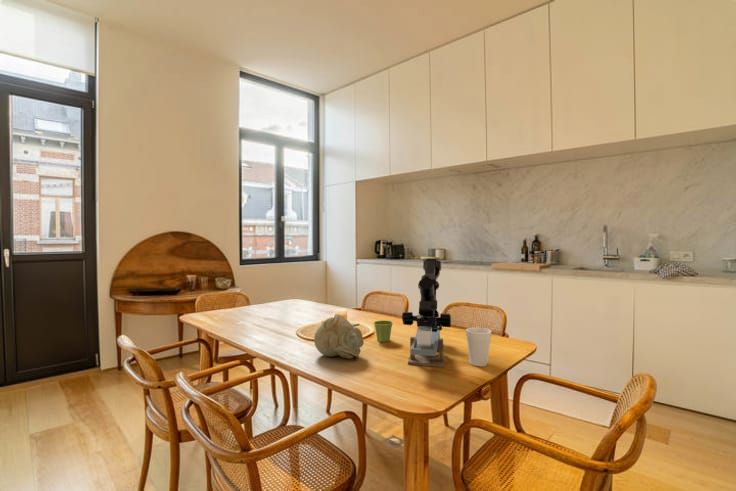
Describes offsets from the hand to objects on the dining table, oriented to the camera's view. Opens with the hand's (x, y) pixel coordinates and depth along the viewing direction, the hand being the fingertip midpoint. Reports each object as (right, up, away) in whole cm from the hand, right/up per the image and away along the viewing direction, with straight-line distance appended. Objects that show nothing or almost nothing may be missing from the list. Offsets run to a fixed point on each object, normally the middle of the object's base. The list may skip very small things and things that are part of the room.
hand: (425, 338), depth 138 cm
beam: (+1, -9, +5) cm, 11 cm away
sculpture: (-33, -11, +15) cm, 38 cm away
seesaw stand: (+2, -11, +7) cm, 13 cm away
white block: (-1, -2, -3) cm, 4 cm away
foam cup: (+22, -11, +5) cm, 25 cm away
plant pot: (-14, -11, +37) cm, 41 cm away
